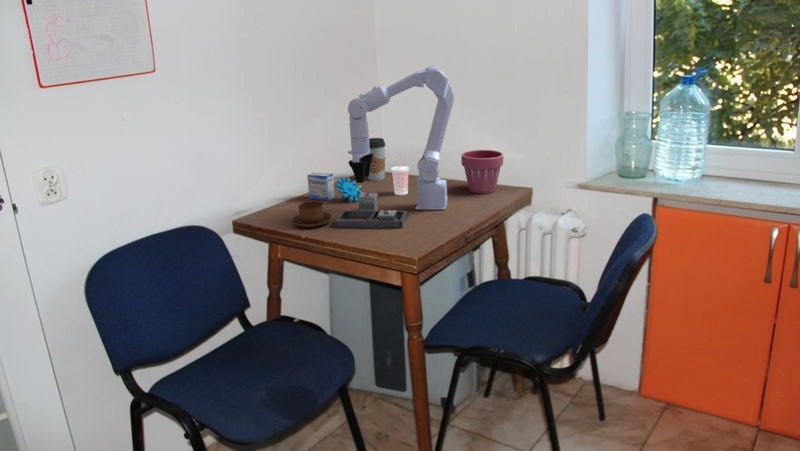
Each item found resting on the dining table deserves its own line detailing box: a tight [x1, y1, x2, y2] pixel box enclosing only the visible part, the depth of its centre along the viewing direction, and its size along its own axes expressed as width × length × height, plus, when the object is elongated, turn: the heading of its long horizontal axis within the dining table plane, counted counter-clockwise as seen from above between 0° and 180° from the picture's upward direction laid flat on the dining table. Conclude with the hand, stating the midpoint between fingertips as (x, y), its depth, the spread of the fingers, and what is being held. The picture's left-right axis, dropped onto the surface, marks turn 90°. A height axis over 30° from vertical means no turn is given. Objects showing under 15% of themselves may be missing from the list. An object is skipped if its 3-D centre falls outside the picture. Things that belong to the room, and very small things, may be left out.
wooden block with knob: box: [377, 209, 398, 221], centre depth 204 cm, size 5×5×4 cm
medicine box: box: [307, 172, 335, 201], centre depth 233 cm, size 8×4×9 cm, turn 68°
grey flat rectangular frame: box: [334, 210, 409, 229], centre depth 206 cm, size 20×11×2 cm, turn 80°
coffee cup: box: [367, 137, 386, 182], centre depth 254 cm, size 8×8×15 cm
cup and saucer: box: [291, 200, 332, 228], centre depth 207 cm, size 12×12×6 cm
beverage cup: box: [390, 153, 410, 196], centre depth 233 cm, size 6×6×14 cm
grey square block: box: [358, 192, 379, 211], centre depth 216 cm, size 5×5×6 cm
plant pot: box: [461, 149, 504, 194], centre depth 232 cm, size 14×14×13 cm
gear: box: [335, 177, 363, 203], centre depth 231 cm, size 11×6×10 cm
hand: (363, 179), depth 215 cm, fingers open, 7 cm apart
